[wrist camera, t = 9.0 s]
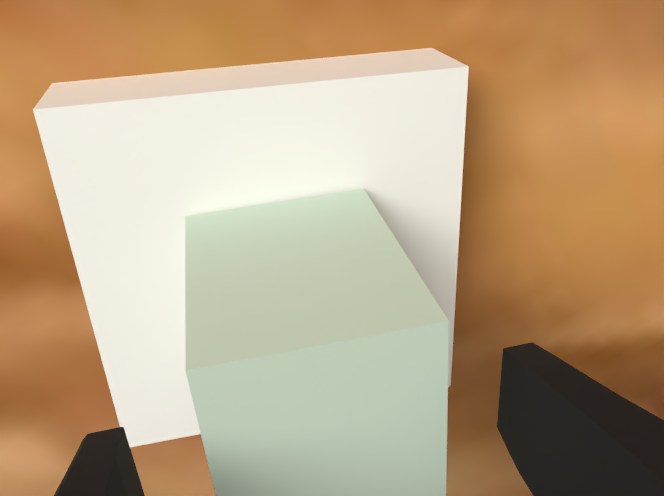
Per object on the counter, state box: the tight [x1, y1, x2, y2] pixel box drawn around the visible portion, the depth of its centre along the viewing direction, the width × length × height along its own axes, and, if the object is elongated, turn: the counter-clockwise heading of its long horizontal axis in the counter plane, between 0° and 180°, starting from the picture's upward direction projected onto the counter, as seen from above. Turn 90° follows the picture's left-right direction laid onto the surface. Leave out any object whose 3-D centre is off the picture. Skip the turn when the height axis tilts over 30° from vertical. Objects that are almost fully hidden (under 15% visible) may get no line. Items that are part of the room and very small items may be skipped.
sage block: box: [185, 189, 449, 496], centre depth 14 cm, size 4×4×6 cm
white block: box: [33, 48, 469, 447], centre depth 18 cm, size 10×10×3 cm
